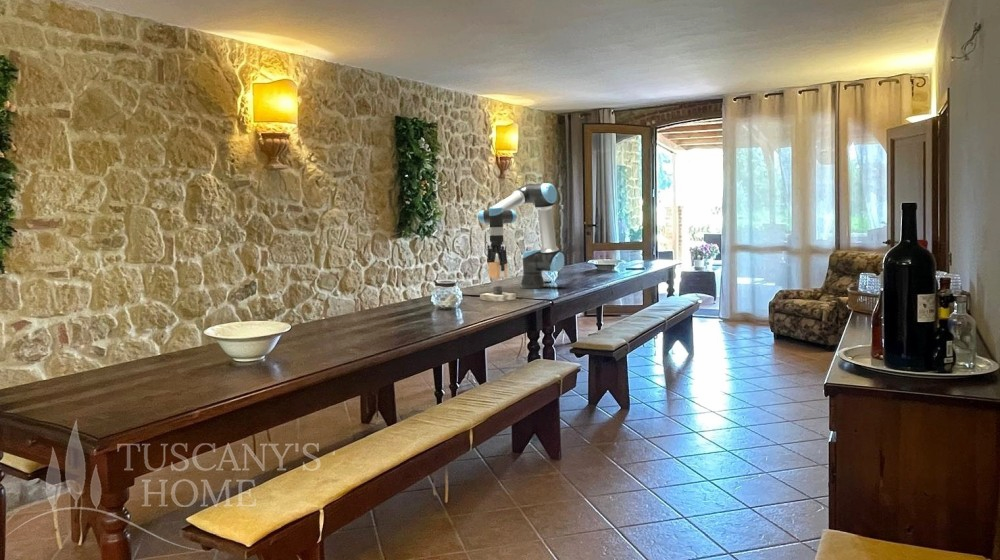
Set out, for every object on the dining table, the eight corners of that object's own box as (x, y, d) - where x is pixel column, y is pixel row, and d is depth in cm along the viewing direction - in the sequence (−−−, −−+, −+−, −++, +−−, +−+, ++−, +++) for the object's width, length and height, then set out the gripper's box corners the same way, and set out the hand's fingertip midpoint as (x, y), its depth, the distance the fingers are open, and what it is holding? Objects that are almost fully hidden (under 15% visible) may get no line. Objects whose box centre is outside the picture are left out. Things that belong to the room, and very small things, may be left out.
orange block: (498, 276, 390) (498, 261, 389) (506, 276, 384) (506, 262, 383) (488, 277, 385) (488, 262, 384) (496, 278, 380) (496, 263, 379)
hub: (499, 296, 396) (499, 284, 395) (515, 299, 385) (515, 286, 384) (480, 299, 387) (479, 287, 386) (496, 301, 376) (496, 289, 376)
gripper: (479, 234, 387) (480, 275, 390) (503, 235, 372) (503, 278, 375) (490, 234, 392) (491, 274, 395) (513, 234, 377) (514, 277, 379)
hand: (497, 276), depth 385 cm, fingers closed on orange block, 7 cm apart
